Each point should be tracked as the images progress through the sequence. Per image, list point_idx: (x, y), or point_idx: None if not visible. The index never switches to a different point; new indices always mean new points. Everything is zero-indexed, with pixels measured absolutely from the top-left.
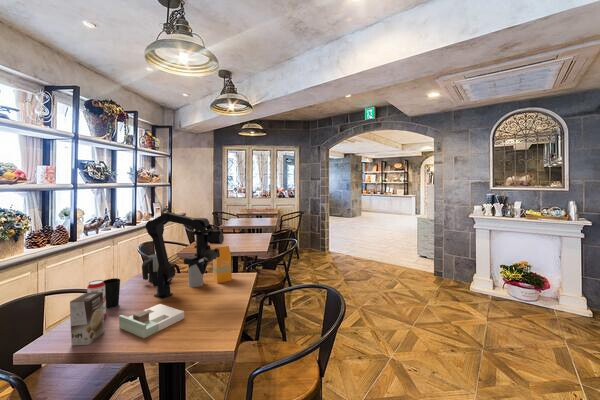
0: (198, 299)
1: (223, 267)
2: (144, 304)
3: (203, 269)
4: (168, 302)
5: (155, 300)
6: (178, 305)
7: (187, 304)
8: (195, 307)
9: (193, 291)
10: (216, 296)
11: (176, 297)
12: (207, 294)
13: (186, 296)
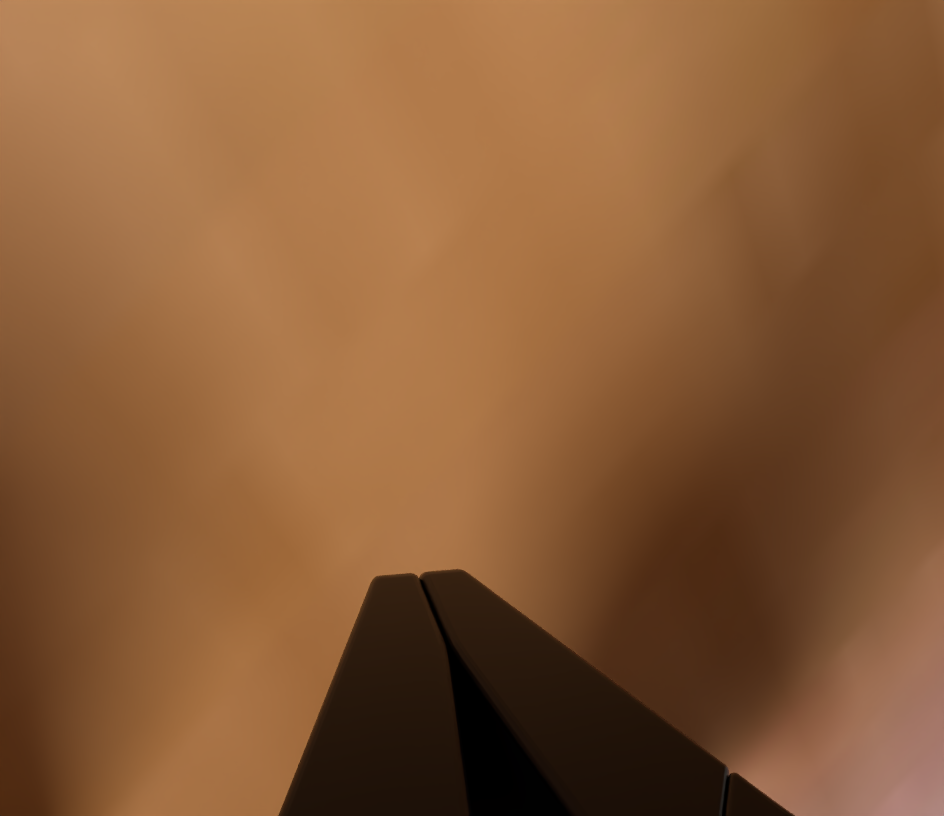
0: (457, 278)
1: None
2: (900, 781)
3: (561, 723)
4: (760, 608)
5: None
6: (808, 382)
7: (728, 277)
8: (795, 6)
9: (203, 683)
10: (90, 8)
11: None
12: (140, 322)
13: None
